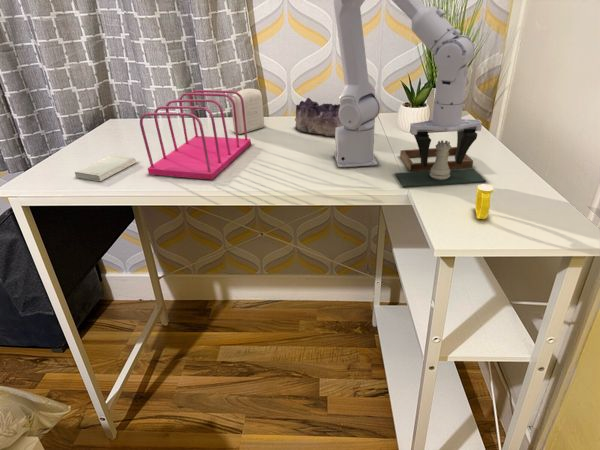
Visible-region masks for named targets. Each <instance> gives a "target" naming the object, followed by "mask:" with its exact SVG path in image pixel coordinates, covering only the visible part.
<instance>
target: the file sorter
mask: <svg viewBox="0 0 600 450" xmlns="http://www.w3.org/2000/svg"><path fill="white" fill-rule="evenodd" d="M229 94H237V95H238V96H239V97H240V99H241V104H242V113H243V122H244V132H245V133H244V138H241V137H239V134H238V128H237V118H236V108H235V103H234V100H233V99H232V98H231V95H229ZM185 96H189V99H183V98H184V97H185ZM193 96H194V97H195V96H199V97H223V98H224V97H225V98H226V99H229V101H230V103H231V102H232V105H233V112H234V121H235V131H236V133H235V137H229V135H228V130H227V125H226V120H225V114H224V109H223V107H222V105H221V104H220V103H219V102H218V101H217V100H214V99H204V98H203V99H193ZM173 103H174V104H175V103H178V105H179V106H178V105H171V104H173ZM182 103H189V105H190V106H189V105H188V106H186V105H183V104H182ZM193 103H214V104H215V105H216V106H217V107H218V108H219V111H220V117H221V121H222V126H223V127H222V128H223V133H224V137H223V136H218V134H217V129H216V128H217V127H216V122H215V118H214V117H215V116H214V115H213V112H212V111H211V110H210V109H208V108H207V107H205V106H193ZM159 110H165V112H159ZM169 110H180V112H169ZM184 110H190V112H191V113H189V112H184ZM194 110H204V111H205V112H206V113H208V114H209V116H210V120H211V125H212V132H213V136H206V135H205V132H204V127H203V124H202V123H203V122H202V121H201V120H200V118H199V117H198V116H197V115H195V112H194ZM152 116H153V119H154V123H155V128H156V132H157V137H158V140H159V145H160V149H161V152H162V158H160V159H159V160H157V161H156V162H155V163H154V162H153V158H152V154H151V150H150V147H149V143H148V139H147V134H146V131H145V127H144V118H145V117H152ZM158 116H159V117H161V116H163V117H164V116H165V117H166V118H167V123H168V127H169V131H170V135H171V140H172V143H173V147H174V150H172V151H170V152H169V153H168V154H166V150H165V146H164V142H163V139H162V138H163V137H162V133H161V130H160V124H159V121H158ZM173 116H174V117H176V116H177V117H179V116H180V117H181V123H182V129H183V134H184V139H185V141H184V143H183V144H181V145H180V146H177V142H176V137H175V133H174V129H173V125H172V121H171V117H173ZM185 117H191V118H192V123H193V129H194V135H195V136H193V137H192V138H191V139H188V133H187V129H186V128H187V126H186V122H185ZM196 121H197V123H196ZM197 124H198V127H199V132H200V135H198V129H197ZM139 126H140V131H141V134H142V139H143V143H144V147H145V149H146V152H147V157H148V161H149V165H150V166H149V167H147V172H148V175H151V176H152V175H154V176H166V177H177V178H189V179H201V180H210V181H211V180H213V179H215V178H216V177H217V176H218V175H219V174H220V173H221V172H222V171H224V170H225V169H226V168H227V167H228V166H230V164H231V163H233V162H234V160H236V159H237V158H238V157H239V156H240V155H241V154H242V153H244V152H245V151H246V150H247V149H248V148H249V147H250V146H251V145H252V141H251V138H248V132H247V130H246V120H245V110H244V102H243V98H242V96H241V95H240V94H239V93H238V91H235V90H219V89H217V90H215V89H195V90H193V91H192V92H185V93H183V94H181V95H180V97H179V99H172V100H169V101H168V102H167V103H166V105H164V106H162V105H161V106H158V107H157V108H155V109H154V112H145V113H143V114H141V116H140V117H139ZM235 131H234V132H235Z"/></svg>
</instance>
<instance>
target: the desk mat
mask: <svg viewBox="0 0 600 450" xmlns="http://www.w3.org/2000/svg"><path fill="white" fill-rule="evenodd" d="M430 173H431V171H430V170H428V171H411V172H410V171H409V172H395V176H396V178H397V179H398V181H399V183H400V185H401V186H402V188H415V187H416V188H417V187H432V186H433V187H434V186H446V185H447V186H450V185H464V184H480V183H481V184H484V183H486V182H487V181H486V179H485V178H484V177H483V176H481V174H479V172H477V171H476V170H475V168H460V169H450V173H449V174H450V177H449V178H448V179H446V180H435V179H433V178H431V176H430V175H429V174H430Z"/></svg>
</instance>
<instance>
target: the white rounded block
mask: <svg viewBox="0 0 600 450" xmlns="http://www.w3.org/2000/svg"><path fill="white" fill-rule="evenodd" d="M237 92H238V93H239V94H240V95H241V96H242V98H243V102H244V110H245V120H246V130H247V133H250V132H252V131H256V130H259V129H262V128H264V127H265V117H264V116H265V115H264V103H263V94H262V92H261V90H259V89H257V88H244V89H241V90H238V91H237ZM230 97H231V98H232V99H233V100H234V103H235V108H236V118H237V128H238V135H242V134H245V132H244V122H243V113H242V104H241V99H240V97H239V96H238V95H237V94H234V93H232V95H230ZM230 107H231V115H232V123H233V130H234V132H235V134H236V131H235V121H234V112H233V105H232V102H231V101H230Z"/></svg>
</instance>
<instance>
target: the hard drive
mask: <svg viewBox="0 0 600 450" xmlns="http://www.w3.org/2000/svg"><path fill="white" fill-rule="evenodd" d="M136 163H137V160H136V158H135V157H133V156H132V157H131V156H126V155H125V156H123V155H115V154H112V155H109V156H107V157H105V158H103V159H100V160H99V161H96V162H94V163H91V164H90V165H88V166H86V167H83V168H81V169H79V170H77V171H75V172H74V175H75V178H77V179H83V180H88V181H95V182H102V181H103V180H105V179H107V178H109V177H111V176H113V175H115V174H117V173H119V172H120V171H123V170H126V168H129V167H131V166H132V165H134V164H136Z"/></svg>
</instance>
